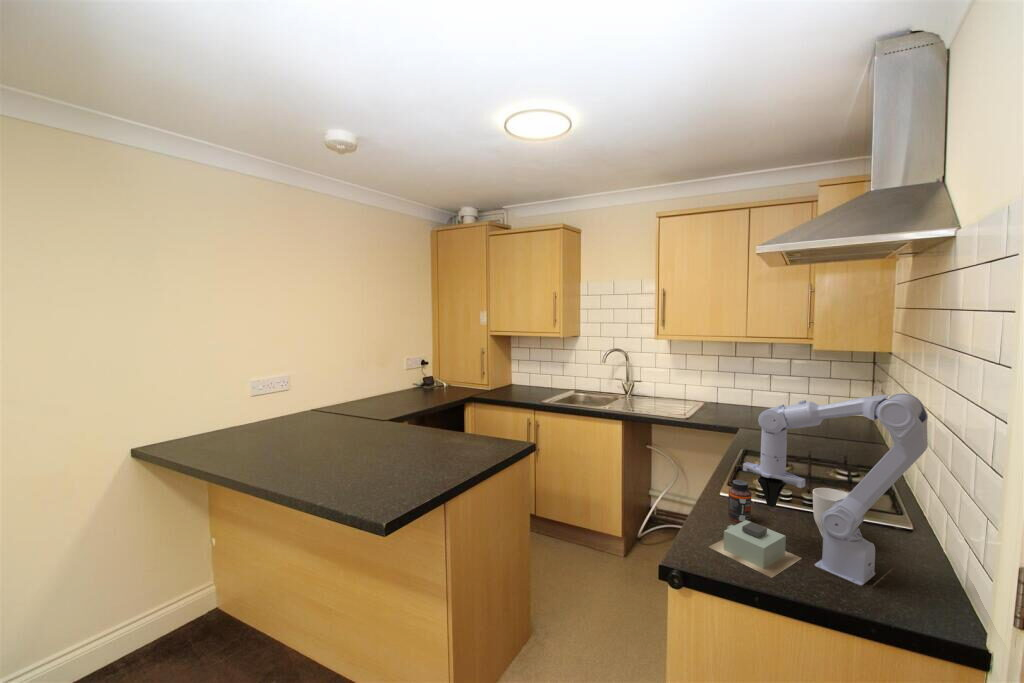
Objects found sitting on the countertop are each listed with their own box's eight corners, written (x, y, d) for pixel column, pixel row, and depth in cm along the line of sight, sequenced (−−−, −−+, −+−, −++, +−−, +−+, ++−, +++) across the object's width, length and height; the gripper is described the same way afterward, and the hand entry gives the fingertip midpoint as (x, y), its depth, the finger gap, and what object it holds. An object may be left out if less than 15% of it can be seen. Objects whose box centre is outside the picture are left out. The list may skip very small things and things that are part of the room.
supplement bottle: (748, 527, 126) (749, 487, 125) (725, 521, 130) (726, 483, 129) (752, 518, 131) (753, 481, 130) (730, 513, 135) (731, 476, 134)
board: (802, 559, 110) (802, 558, 110) (771, 579, 102) (771, 577, 102) (738, 532, 123) (738, 531, 123) (708, 548, 116) (708, 546, 116)
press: (785, 555, 111) (785, 535, 111) (763, 568, 106) (763, 548, 106) (739, 535, 121) (740, 517, 121) (717, 546, 116) (718, 528, 115)
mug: (849, 550, 114) (849, 503, 113) (808, 538, 120) (808, 494, 119) (859, 533, 121) (859, 490, 121) (820, 523, 128) (820, 482, 127)
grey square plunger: (766, 550, 112) (766, 528, 112) (757, 555, 110) (758, 533, 110) (750, 543, 115) (751, 522, 115) (741, 548, 113) (742, 526, 113)
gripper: (737, 449, 119) (735, 499, 120) (796, 465, 107) (794, 520, 108) (751, 444, 123) (749, 492, 124) (810, 459, 111) (807, 512, 112)
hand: (771, 505), depth 117 cm, fingers closed
